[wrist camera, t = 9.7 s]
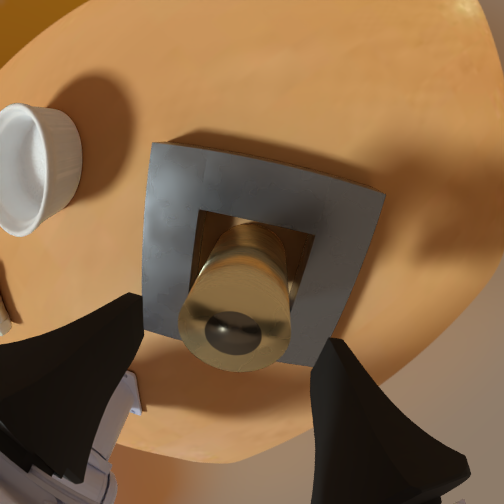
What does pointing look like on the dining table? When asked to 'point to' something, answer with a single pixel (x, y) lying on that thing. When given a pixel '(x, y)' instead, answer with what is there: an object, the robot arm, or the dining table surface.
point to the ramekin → (36, 165)
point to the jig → (261, 210)
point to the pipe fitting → (4, 319)
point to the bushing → (239, 302)
